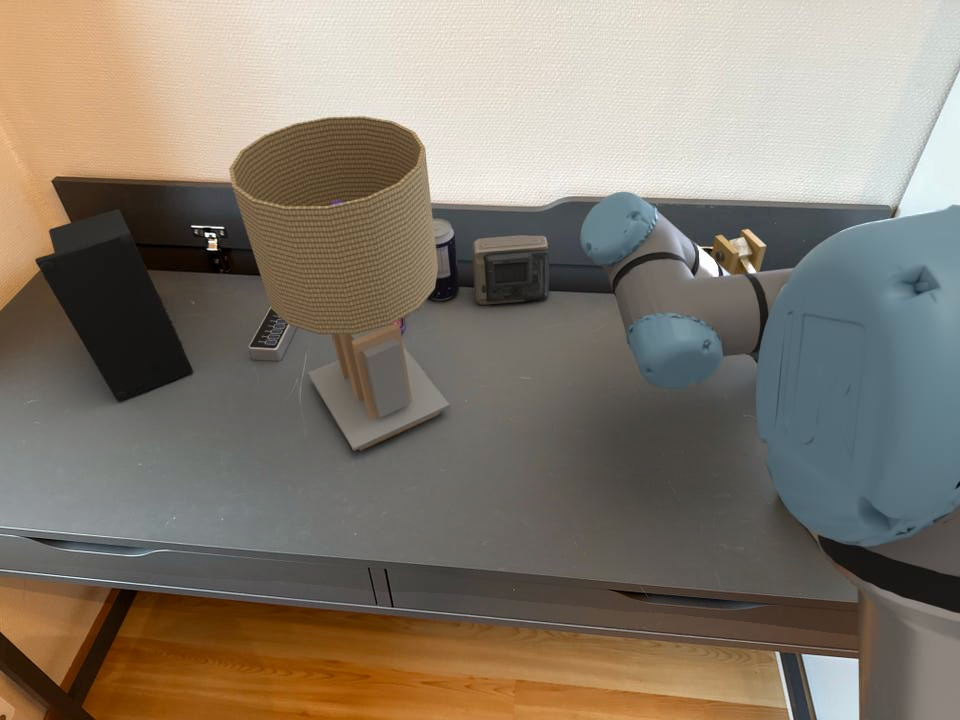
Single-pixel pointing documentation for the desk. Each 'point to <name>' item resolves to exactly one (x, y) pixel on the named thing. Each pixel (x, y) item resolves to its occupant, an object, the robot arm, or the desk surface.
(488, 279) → the camera
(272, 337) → the multiport hub
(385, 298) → the desk lamp
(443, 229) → the beverage can
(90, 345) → the bookend
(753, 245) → the bracket
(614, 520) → the desk surface
